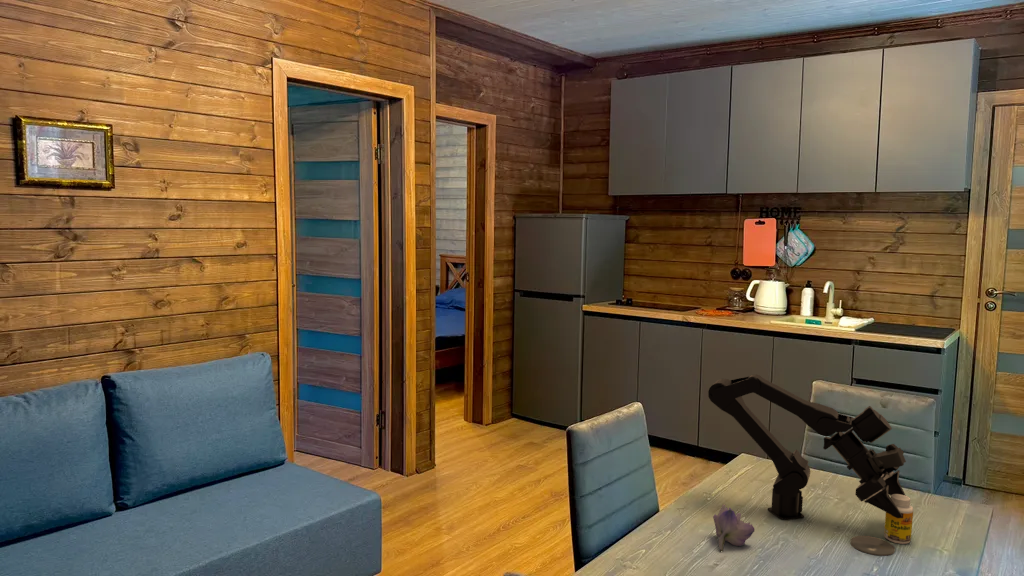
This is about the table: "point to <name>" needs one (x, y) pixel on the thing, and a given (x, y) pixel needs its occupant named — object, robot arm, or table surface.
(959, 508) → the table surface
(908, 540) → the supplement bottle
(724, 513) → the flower
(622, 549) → the table surface
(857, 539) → the slate coaster
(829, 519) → the table surface
